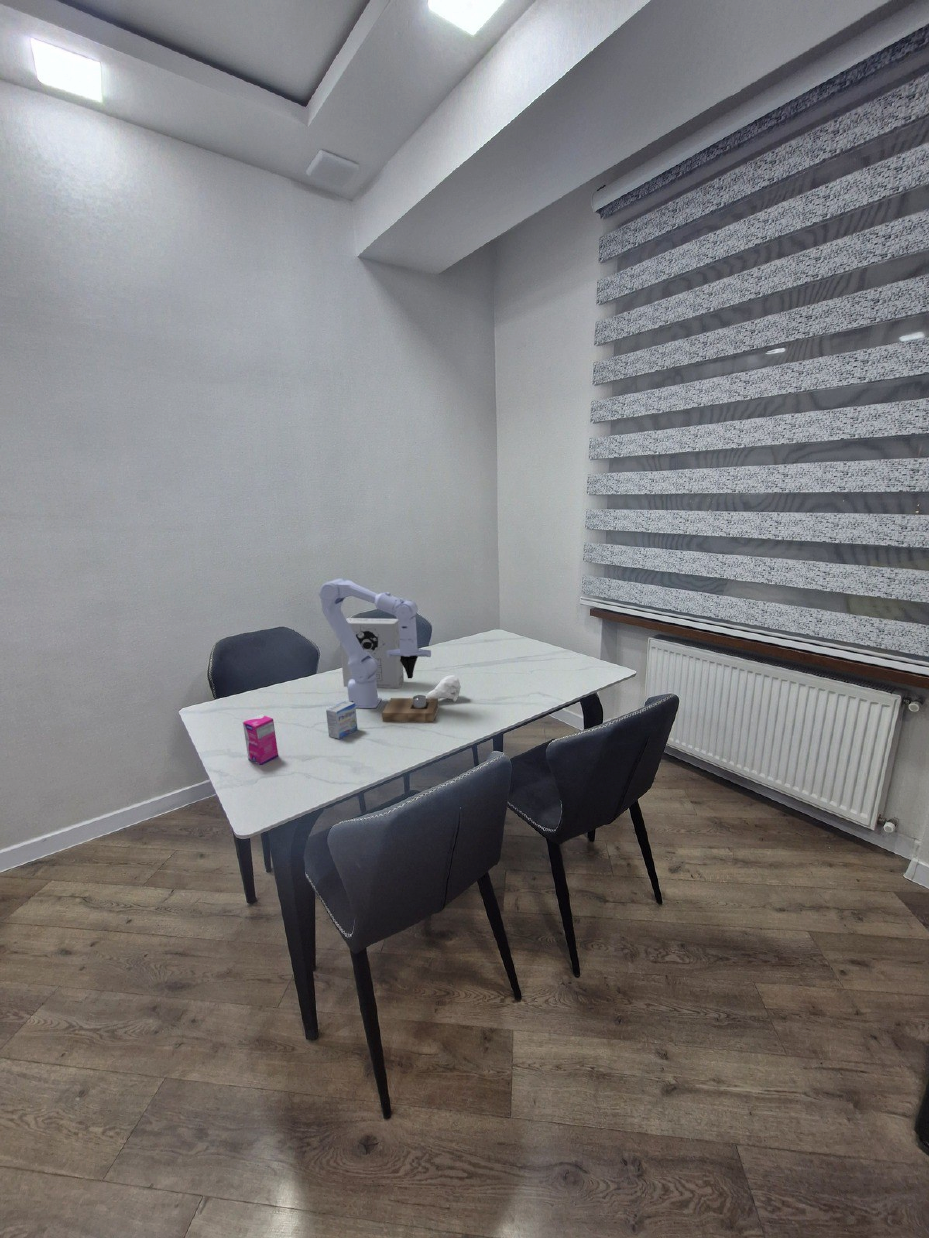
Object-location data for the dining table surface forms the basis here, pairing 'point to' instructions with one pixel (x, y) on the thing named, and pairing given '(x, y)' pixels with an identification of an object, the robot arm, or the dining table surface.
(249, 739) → the supplement box
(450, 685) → the white lumpy piece
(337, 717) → the medicine box
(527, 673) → the dining table surface
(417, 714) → the jig
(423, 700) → the grey dome knob
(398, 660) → the cereal box
